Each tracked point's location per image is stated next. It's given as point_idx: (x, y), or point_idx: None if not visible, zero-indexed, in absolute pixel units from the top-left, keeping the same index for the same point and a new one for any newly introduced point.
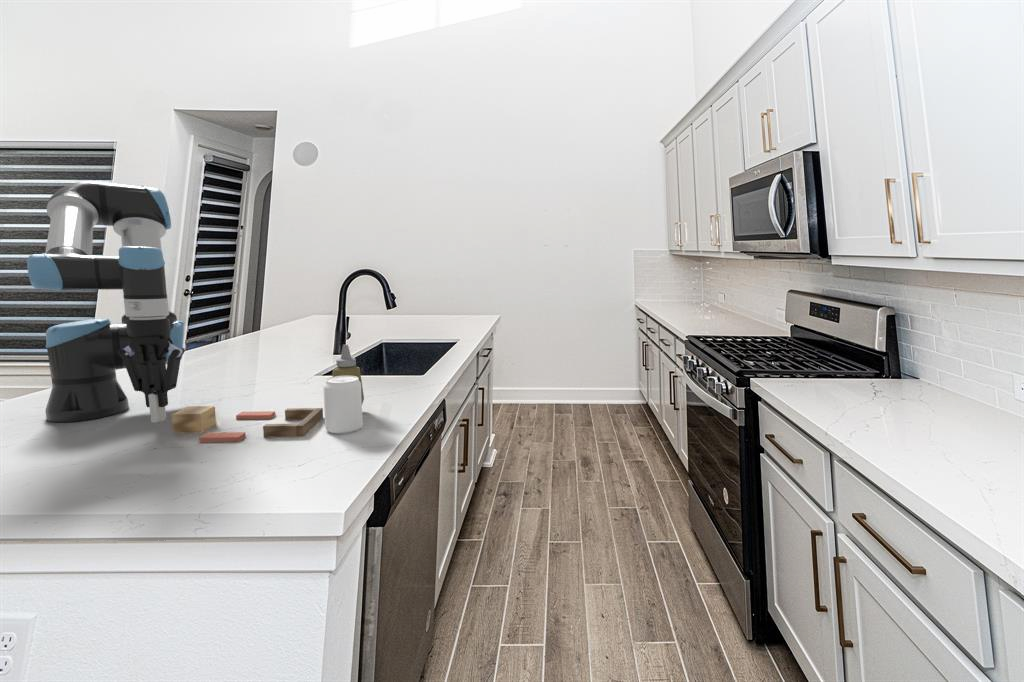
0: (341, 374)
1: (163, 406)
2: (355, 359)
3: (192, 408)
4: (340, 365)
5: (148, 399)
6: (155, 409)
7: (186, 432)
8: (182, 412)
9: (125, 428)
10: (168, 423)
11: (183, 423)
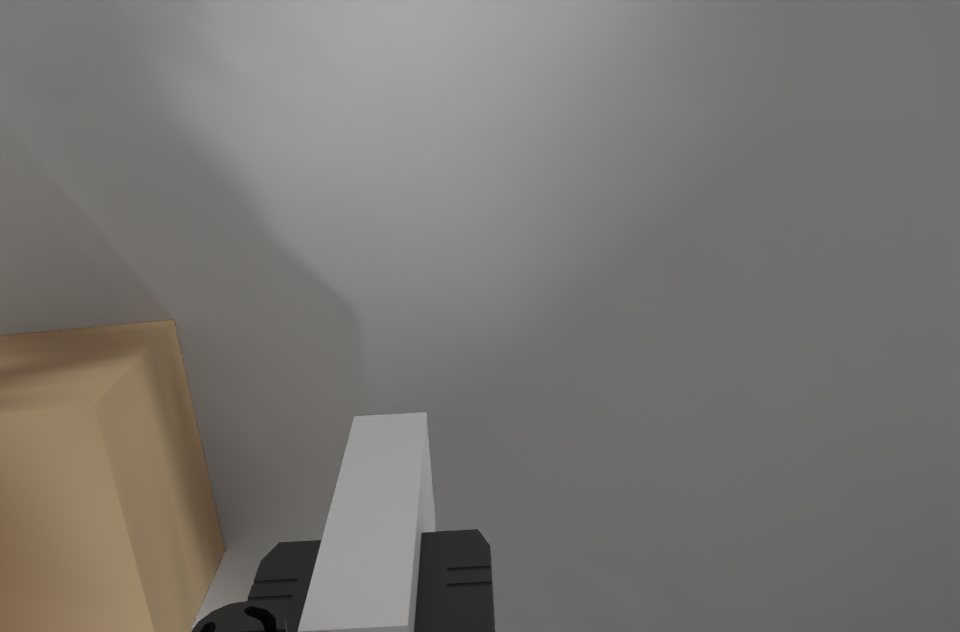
0: None
1: (275, 548)
2: None
3: (44, 618)
4: None
5: (447, 597)
6: (352, 494)
7: (49, 332)
8: (26, 478)
9: (735, 429)
10: None
11: (21, 366)
